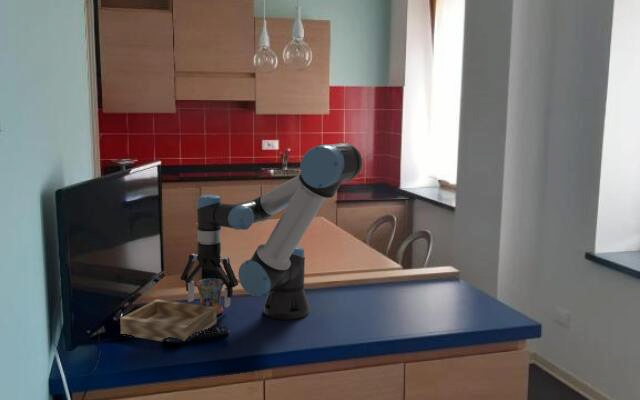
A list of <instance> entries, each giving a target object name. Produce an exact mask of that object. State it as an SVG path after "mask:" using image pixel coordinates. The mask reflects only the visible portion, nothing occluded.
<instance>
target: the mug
mask: <svg viewBox="0 0 640 400" xmlns="http://www.w3.org/2000/svg"><path fill="white" fill-rule="evenodd" d="M224 285H225V284H224V283H223V281H222V280H221V278H203V279H200V280H197V281H196V282H195V286H196V287H197V290H198V294H199V305H203V306H210V307H216V316H218V315H221V314H222V313H223V312H224V308H223V306H222V303H221V301H222V300H221V295H222V290H223V287H224Z"/></svg>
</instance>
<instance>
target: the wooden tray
mask: <svg viewBox="0 0 640 400" xmlns="http://www.w3.org/2000/svg"><path fill="white" fill-rule="evenodd" d="M217 320H218V319H217V315H216V307H210V306H203V305H200V304H193V303H187V302H180V301H173V300H165V299H157V298H156V299H154V300H152V301H150V302H148V303H147V304H145V305H143V306H141V307H138V308H136V309H135V310H133V311H132V312H130V313H127V314H126V315H124V316H122V317H120V319H119V321H120V322H119V324H120V335H121V334H127V335H132V336H134V338H140V339H145V340H152V341H157V342H158V341H159V342H163V341H162V340H163V339H164V338H168V337H173V338H178V339H181V340H183V341H185V340H186V339H187V338H188V337H189V336H191V335H192V334H193V333H195V332H197V331H200V330H204V329H207V330H209V329H210V328H212V327H213V326H215V325H216V324H217ZM208 328H209V329H208ZM132 336H131V337H132Z"/></svg>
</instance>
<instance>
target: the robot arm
mask: <svg viewBox="0 0 640 400" xmlns="http://www.w3.org/2000/svg"><path fill="white" fill-rule="evenodd" d="M362 166H363V158H362V155H361V152H360V151H359V150H358V148H356V147H355V146H354V145H352V144H350V143H346V142H338V143H332V144H328V143H325V144H319V145H316V146H313V147H312V148H310V149H308V150H307V151H306V152H305V153H304V154H303V156H302V158H301V161H300V166H299V168H300V174H298V175H296V176H294V177H293V178H291V179H289V180H288V181H285V182H284V183H282V184H280V185H278V186H276V187H274V188H272V189H270V190H269V191H267V192H265V193H264V194H262V195H260V196H258V197H256V198H254V199H251V200H249V201H244V202H240V203H239V202H238V203H235V204H231V203H224V202H222V199H221V196H220V195H217V194H203V195H200V196H199V197H198V198H197V206H196V213H197V234H196V235H197V237H196V238H197V239H196V240H197V254H196V253H195V252H193V253H191V254H189V255H188V261H187V263H186V266H185V267H184V270H183V271H182V273H181V276H180V280H181V281H184V282H185V290H186V292H187V295H188V296H187V301H188V302H189V303H191V302H193V301H194V300H195V281H194V278H195V277H196V276H198V274H199V272H200V271H201V270H202V269H203V270H209V271H213V272H214V273H215V274H217V275H218V277H219V279H220V280H222V281H223V283H224V285H225V288H224V303H223V304H224V308H226V309H227V308H228V307H230V306H231V298H233V296H234V294H233V291H234V289H233V288H235V287H237V286H239V283H240V285H241V287H242V289H243V290H244V291H245V292H246V293H247V294H249V295H250V296H253V297H262V296H266V295H267V296H266V299H265V302H264V304H263V305H264V306H263V313H264V315H266V316H267V317H268V318H272V319H276V320H296V319H301V318H304V317H306V316H308V315H309V312H310V305H309V302H308V299H307V295H306V292H305V259H306V256H305V250H304V248H303V247H302V246H299V243H300V241H301V240H302V238H303V236H304V235H305V233H306V232H307V230H308V229H309V227H310V225H311V224H312V222H313V220H314V219H315V217H316V215H317V214H318V212H319V210H320V208H321V207H322V205H323V204H324V202H325V200H329V199H332V198H333V197H334V196H335V195H336V192H337V191H338V189H339V188H340V186H341V184H343V183H347V182H350V181H352V180H353V179H356V178H357V176H359V174H360V173H361V170H362ZM283 210H284V211H283ZM281 211H283V213H282V214H281V217H280V218H279V220H278V222H276V225H275V226H274V229H272V231H271V233H270V236H269V237H268V238H267V240H266V242H265V243H262V244H260V245H258V246H257V248H256V249H255V251H254V252H253V254H252V257H251V258H250V259H248V260H245V261H244V262H242V264H241V265H240V266H239V268H238V272H237V273H238V279H239V281H238V280H237V277H236V275H235V272H234V270H233V268H232V265H231V263H230V258H229V257H228V256H226V257H221V250H222V248H221V245H222V243H221V239H222V238H221V237H222V236H221V227H222V228H229V229H234V230H236V231H237V230H238V231H240V230H241V231H244V230H245V231H246V230H248V229H249V228H250V227H252V225H253V224H255V223H260V222H265V221H267V220H269V219H271V218H272V216H273V215H275V214H278V213H280V212H281ZM196 261H197V262H198V264H197V265H196V266H195V268H194V269H193V271H192V268H193V267H194V264H195V262H196ZM222 266H223V267H222ZM191 271H192V272H191Z"/></svg>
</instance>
